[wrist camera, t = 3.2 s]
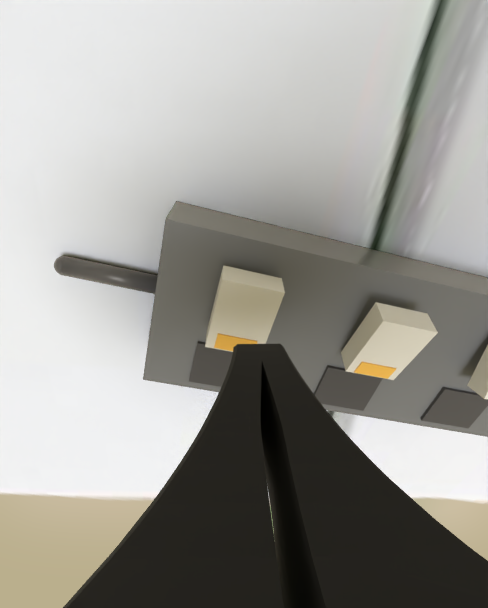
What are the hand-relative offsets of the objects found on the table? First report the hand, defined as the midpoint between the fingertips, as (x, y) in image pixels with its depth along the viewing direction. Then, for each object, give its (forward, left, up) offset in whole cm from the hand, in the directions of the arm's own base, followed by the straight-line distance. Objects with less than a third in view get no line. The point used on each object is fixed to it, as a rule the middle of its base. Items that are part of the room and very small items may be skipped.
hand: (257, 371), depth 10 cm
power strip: (-2, +5, -9) cm, 11 cm away
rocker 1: (+1, +1, -6) cm, 6 cm away
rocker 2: (-5, +5, -6) cm, 9 cm away
